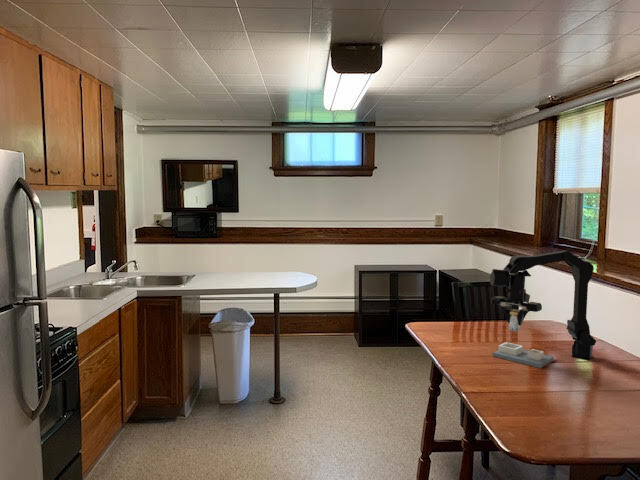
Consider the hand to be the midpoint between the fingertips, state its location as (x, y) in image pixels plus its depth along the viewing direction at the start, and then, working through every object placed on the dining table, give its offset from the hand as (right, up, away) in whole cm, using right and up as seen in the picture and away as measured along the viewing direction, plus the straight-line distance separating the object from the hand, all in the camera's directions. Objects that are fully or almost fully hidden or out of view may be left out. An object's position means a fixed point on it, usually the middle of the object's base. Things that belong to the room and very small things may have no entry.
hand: (514, 324), depth 194 cm
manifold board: (+2, -13, -3) cm, 14 cm away
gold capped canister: (0, -2, 0) cm, 2 cm away
